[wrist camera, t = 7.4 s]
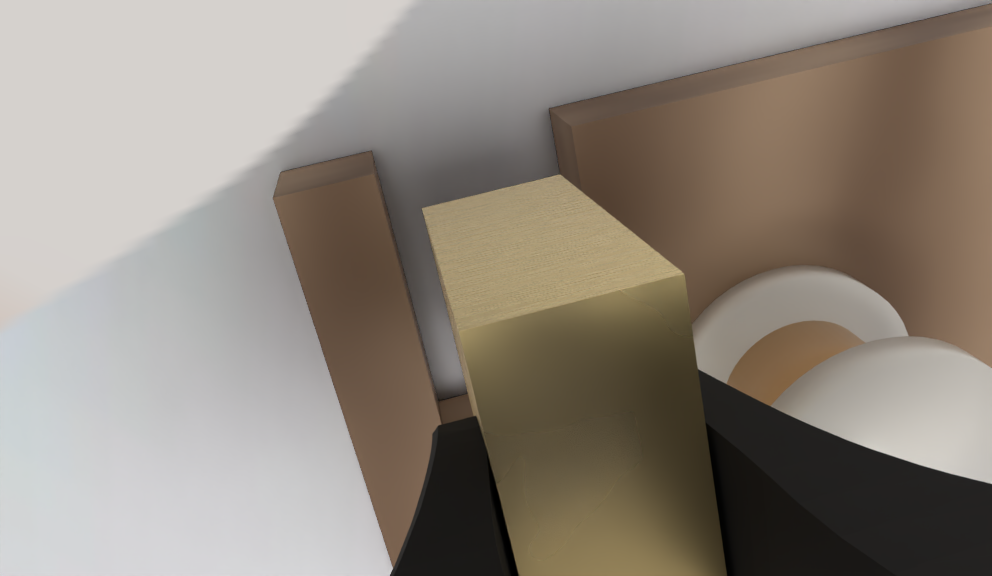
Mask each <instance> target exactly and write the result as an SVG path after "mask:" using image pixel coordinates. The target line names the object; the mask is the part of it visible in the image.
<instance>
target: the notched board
mask: <svg viewBox="0 0 992 576" xmlns="http://www.w3.org/2000/svg"><path fill="white" fill-rule="evenodd" d="M549 112H550V118H551V123H552V129H553V135H554V141H555V147H556V152H557V158H558V164H559V170H560V175H561V176H563V177H564V178H565V179H566V180H568V181H569V182H570V183H571V184H573V185H574V186H575V187H576V188H578V189H579V190H580V191H581V192H583V193H584V194H585V195H586V196H588V197H589V198H590V199H592V200H593V201H594V202H595V203H597V204H598V205H599V206H600V207H602V208H603V209H604V210H605V211H607V212H608V213H609V214H610V215H612V216H613V217H614V218H615V219H617V220H618V221H619V222H620V223H622V224H623V225H624V226H625V227H627V228H628V229H629V230H630V231H632V232H633V233H634V234H635V235H637V236H638V237H639V238H640V239H642V240H643V241H644V242H645V243H647V244H648V245H649V246H650V247H652V248H653V249H654V250H655V251H657V252H658V253H659V254H660V255H662V256H663V257H664V258H665V259H667V260H668V261H669V262H670V263H672V264H673V265H674V266H675V267H677V268H678V269H679V270H680V271H682V272H683V273H684V275H685V282H686V289H687V296H688V303H689V310H690V317H691V324H693V322H694V321H695V320H696V319H697V318H698V317H699V315H700V314H701V313H702V312H703V311H704V310H705V309H706V308H707V307H708V306H709V305H710V304H711V303H712V302H713V301H714V300H715V299H717V298H718V297H719V296H721V295H722V294H723V293H725V292H726V291H727V290H729V289H730V288H732V287H734V286H735V285H737V284H739V283H740V282H742V281H744V280H746V279H748V278H750V277H753V276H755V275H757V274H759V273H763V272H766V271H769V270H772V269H776V268H781V267H786V266H796V265H813V266H822V267H827V268H831V269H835V270H837V271H840V272H843V273H845V274H847V275H849V276H851V277H853V278H854V279H856V280H858V281H859V282H861V283H862V284H864V285H865V286H867V287H869V288H870V289H872V290H873V291H875V292H876V293H878V294H879V295H880V296H881V297H883V298H884V299H885V300H886V301H888V302H889V303H890V305H891V306H892V307H893V308H894V309H895V310H896V312H897V313H898V315H899V316H900V318H901V320H902V321H903V323H904V325H905V328H906V331H907V333H908V336H912V337H926V338H931V339H937V340H941V341H944V342H947V343H950V344H952V345H955V346H957V347H959V348H961V349H962V350H964V351H966V352H968V353H969V354H971V355H972V356H974V357H975V358H977V359H978V360H980V361H982V362H983V363H985V364H986V365H988V366H989V367H991V368H992V4H988V5H984V6H980V7H975V8H971V9H967V10H963V11H958V12H954V13H950V14H946V15H942V16H937V17H933V18H929V19H925V20H921V21H916V22H912V23H908V24H904V25H899V26H895V27H891V28H887V29H883V30H878V31H874V32H870V33H866V34H861V35H857V36H853V37H849V38H845V39H840V40H836V41H832V42H828V43H824V44H819V45H815V46H811V47H807V48H802V49H798V50H794V51H790V52H786V53H781V54H777V55H773V56H769V57H764V58H760V59H756V60H752V61H748V62H743V63H739V64H735V65H731V66H726V67H722V68H718V69H714V70H710V71H705V72H701V73H697V74H693V75H689V76H684V77H680V78H676V79H672V80H667V81H663V82H659V83H655V84H651V85H646V86H642V87H638V88H634V89H629V90H625V91H621V92H617V93H613V94H608V95H604V96H600V97H596V98H591V99H587V100H583V101H579V102H575V103H570V104H566V105H562V106H558V107H554V108H549ZM273 200H274V203H275V206H276V209H277V212H278V215H279V218H280V221H281V225H282V228H283V231H284V234H285V237H286V240H287V243H288V246H289V249H290V252H291V255H292V258H293V261H294V265H295V268H296V271H297V274H298V277H299V280H300V283H301V286H302V289H303V292H304V295H305V298H306V301H307V305H308V308H309V311H310V314H311V317H312V320H313V323H314V326H315V329H316V332H317V335H318V338H319V341H320V345H321V348H322V351H323V354H324V357H325V360H326V363H327V366H328V369H329V372H330V375H331V378H332V381H333V385H334V388H335V391H336V394H337V397H338V400H339V403H340V406H341V409H342V412H343V415H344V418H345V421H346V425H347V428H348V431H349V434H350V437H351V440H352V443H353V446H354V449H355V452H356V455H357V458H358V461H359V465H360V468H361V471H362V474H363V477H364V480H365V483H366V486H367V489H368V492H369V495H370V498H371V501H372V505H373V508H374V511H375V514H376V517H377V520H378V523H379V526H380V529H381V532H382V535H383V538H384V541H385V545H386V548H387V551H388V554H389V557H390V560H391V563H392V566H393V568H394V566H395V563H396V561H397V558H398V556H399V553H400V551H401V548H402V546H403V543H404V540H405V538H406V535H407V533H408V530H409V528H410V525H411V522H412V519H413V517H414V513H415V510H416V507H417V504H418V500H419V497H420V494H421V490H422V487H423V484H424V480H425V476H426V472H427V468H428V463H429V458H430V453H431V446H432V434H433V432H434V431H435V429H436V428H437V426H438V425H442V424H446V423H450V422H453V421H457V420H461V419H465V418H468V417H472V416H473V412H472V408H471V404H470V400H469V396H468V394H465V395H461V396H458V397H454V398H450V399H446V400H442V401H438V398H437V394H436V391H435V387H434V383H433V379H432V376H431V372H430V368H429V364H428V361H427V357H426V353H425V349H424V346H423V342H422V338H421V334H420V331H419V327H418V323H417V319H416V316H415V312H414V308H413V304H412V301H411V297H410V293H409V289H408V286H407V282H406V278H405V274H404V271H403V267H402V263H401V259H400V256H399V252H398V248H397V244H396V241H395V237H394V233H393V229H392V226H391V222H390V218H389V214H388V211H387V207H386V203H385V199H384V196H383V192H382V188H381V184H380V181H379V177H378V173H377V169H376V166H375V162H374V158H373V154H372V151H368V152H364V153H359V154H355V155H351V156H347V157H343V158H338V159H334V160H330V161H326V162H322V163H317V164H313V165H309V166H305V167H300V168H296V169H292V170H288V171H284V172H281V173H280V176H279V179H278V183H277V186H276V189H275V193H274V196H273Z"/></svg>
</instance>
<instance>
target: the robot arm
mask: <svg viewBox="0 0 992 576" xmlns="http://www.w3.org/2000/svg"><path fill="white" fill-rule="evenodd" d="M698 374H699V381H700V388H701V395H702V402H703V409H704V416H705V423H706V430H707V437H708V445H709V452H710V459H711V466H712V473H713V480H714V487H715V494H716V501H717V508H718V515H719V522H720V529H721V536H722V544H723V551H724V558H725V565H726V572H727V576H992V484H990V483H986V482H982V481H978V480H974V479H970V478H966V477H962V476H958V475H954V474H950V473H946V472H943V471H939V470H936V469H932V468H929V467H925V466H922V465H918V464H915V463H912V462H909V461H906V460H903V459H900V458H897V457H894V456H891V455H888V454H885V453H882V452H879V451H876V450H873V449H870V448H867V447H864V446H862V445H859V444H856V443H854V442H851V441H848V440H846V439H843V438H841V437H839V436H836V435H834V434H831V433H829V432H827V431H824V430H822V429H819V428H817V427H814V426H812V425H810V424H807V423H805V422H803V421H801V420H799V419H796V418H794V417H792V416H790V415H788V414H786V413H783V412H781V411H779V410H777V409H775V408H773V407H771V406H769V405H767V404H765V403H763V402H761V401H759V400H757V399H755V398H753V397H751V396H749V395H747V394H745V393H743V392H741V391H739V390H737V389H735V388H733V387H731V386H729V385H727V384H726V383H724V382H722V381H720V380H718V379H716V378H714V377H712V376H710V375H708V374H707V373H705V372H703V371H701V370H699V369H698ZM390 576H517V572H516V568H515V564H514V560H513V556H512V552H511V548H510V544H509V540H508V536H507V532H506V528H505V523H504V519H503V515H502V511H501V507H500V503H499V499H498V495H497V491H496V487H495V483H494V479H493V475H492V471H491V466H490V462H489V458H488V454H487V450H486V447H485V443H484V440H483V436H482V433H481V430H480V426H479V423H478V420H477V416H472V417H468V418H465V419H461V420H457V421H453V422H450V423H446V424H442V425H438V426H437V428H436V429H435V431H434V432H433V434H432V446H431V453H430V458H429V463H428V468H427V472H426V476H425V480H424V484H423V487H422V490H421V494H420V497H419V500H418V504H417V507H416V510H415V513H414V517H413V519H412V522H411V525H410V528H409V530H408V533H407V535H406V538H405V540H404V543H403V546H402V548H401V551H400V553H399V556H398V558H397V561H396V563H395V566H394V568H393V570H392V572H391V574H390Z"/></svg>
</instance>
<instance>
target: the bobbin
mask: <svg viewBox="0 0 992 576" xmlns="http://www.w3.org/2000/svg"><path fill="white" fill-rule="evenodd" d="M692 331H693V338H694V345H695V353H696V360H697V367H698V369H699V370H701V371H703V372H705V373H707V374H708V375H710V376H712V377H714V378H716V379H718V380H720V381H722V382H724V383H726V384H727V385H729V386H731V387H733V388H735V389H737V390H739V391H741V392H743V393H745V394H747V395H749V396H751V397H753V398H755V399H757V400H759V401H761V402H763V403H765V404H767V405H769V406H771V407H773V408H775V409H777V410H779V411H781V412H783V413H786V414H788V415H790V416H792V417H794V418H796V419H799V420H801V421H803V422H805V423H807V424H810V425H812V426H814V427H817V428H819V429H822V430H824V431H827V432H829V433H831V434H834V435H836V436H839V437H841V438H843V439H846V440H848V441H851V442H854V443H856V444H859V445H862V446H864V447H867V448H870V449H873V450H876V451H879V452H882V453H885V454H888V455H891V456H894V457H897V458H900V459H903V460H906V461H909V462H912V463H915V464H918V465H922V466H925V467H929V468H932V469H936V470H939V471H943V472H946V473H950V474H954V475H958V476H962V477H966V478H970V479H974V480H978V481H982V482H986V483H990V484H992V368H991V367H989V366H988V365H986V364H985V363H983V362H982V361H980V360H978V359H977V358H975V357H974V356H972V355H971V354H969V353H968V352H966V351H964V350H962V349H961V348H959V347H957V346H955V345H952V344H950V343H947V342H944V341H941V340H937V339H931V338H926V337H912V336H908V333H907V331H906V328H905V325H904V323H903V321H902V320H901V318H900V316H899V315H898V313H897V312H896V310H895V309H894V308H893V307H892V306H891V305H890V303H889V302H888V301H886V300H885V299H884V298H883V297H881V296H880V295H879V294H878V293H876V292H875V291H873V290H872V289H870V288H869V287H867V286H865V285H864V284H862V283H861V282H859V281H858V280H856V279H854V278H853V277H851V276H849V275H847V274H845V273H843V272H840V271H837V270H835V269H831V268H827V267H822V266H813V265H796V266H786V267H781V268H776V269H772V270H769V271H766V272H763V273H759V274H757V275H755V276H753V277H750V278H748V279H746V280H744V281H742V282H740V283H739V284H737V285H735V286H734V287H732V288H730V289H729V290H727V291H726V292H725V293H723V294H722V295H721V296H719V297H718V298H717V299H715V300H714V301H713V302H712V303H711V304H710V305H709V306H708V307H707V308H706V309H705V310H704V311H703V312H702V313H701V314H700V315H699V317H698V318H697V319H696V320H695V321H694V322H693V324H692Z"/></svg>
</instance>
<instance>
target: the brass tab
mask: <svg viewBox="0 0 992 576" xmlns="http://www.w3.org/2000/svg"><path fill="white" fill-rule="evenodd" d="M422 211H423V215H424V219H425V223H426V227H427V231H428V235H429V239H430V243H431V247H432V251H433V255H434V259H435V263H436V267H437V271H438V275H439V279H440V283H441V287H442V291H443V295H444V299H445V303H446V307H447V311H448V315H449V319H450V323H451V327H452V331H453V335H454V339H455V343H456V347H457V351H458V355H459V359H460V363H461V368H462V372H463V376H464V380H465V384H466V388H467V392H468V396H469V400H470V404H471V408H472V412H473V416H477V420H478V423H479V426H480V430H481V433H482V436H483V440H484V443H485V447H486V450H487V454H488V458H489V462H490V466H491V471H492V475H493V479H494V483H495V487H496V491H497V495H498V499H499V503H500V507H501V511H502V515H503V519H504V523H505V528H506V532H507V536H508V540H509V544H510V548H511V552H512V556H513V560H514V564H515V568H516V572H517V576H727V572H726V565H725V558H724V551H723V544H722V536H721V529H720V522H719V515H718V508H717V501H716V494H715V487H714V480H713V473H712V466H711V459H710V452H709V445H708V437H707V430H706V423H705V416H704V409H703V402H702V395H701V388H700V381H699V374H698V367H697V360H696V353H695V345H694V338H693V331H692V324H691V317H690V310H689V303H688V296H687V289H686V282H685V275H684V273H683V272H682V271H680V270H679V269H678V268H677V267H675V266H674V265H673V264H672V263H670V262H669V261H668V260H667V259H665V258H664V257H663V256H662V255H660V254H659V253H658V252H657V251H655V250H654V249H653V248H652V247H650V246H649V245H648V244H647V243H645V242H644V241H643V240H642V239H640V238H639V237H638V236H637V235H635V234H634V233H633V232H632V231H630V230H629V229H628V228H627V227H625V226H624V225H623V224H622V223H620V222H619V221H618V220H617V219H615V218H614V217H613V216H612V215H610V214H609V213H608V212H607V211H605V210H604V209H603V208H602V207H600V206H599V205H598V204H597V203H595V202H594V201H593V200H592V199H590V198H589V197H588V196H586V195H585V194H584V193H583V192H581V191H580V190H579V189H578V188H576V187H575V186H574V185H573V184H571V183H570V182H569V181H568V180H566V179H565V178H564V177H563V176H561V175H555V176H551V177H547V178H543V179H539V180H535V181H531V182H527V183H523V184H519V185H515V186H510V187H506V188H502V189H498V190H494V191H490V192H486V193H482V194H478V195H474V196H469V197H465V198H461V199H457V200H453V201H449V202H445V203H441V204H437V205H433V206H428V207H424V208H422Z"/></svg>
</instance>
